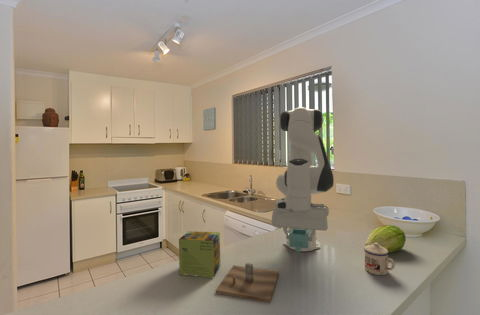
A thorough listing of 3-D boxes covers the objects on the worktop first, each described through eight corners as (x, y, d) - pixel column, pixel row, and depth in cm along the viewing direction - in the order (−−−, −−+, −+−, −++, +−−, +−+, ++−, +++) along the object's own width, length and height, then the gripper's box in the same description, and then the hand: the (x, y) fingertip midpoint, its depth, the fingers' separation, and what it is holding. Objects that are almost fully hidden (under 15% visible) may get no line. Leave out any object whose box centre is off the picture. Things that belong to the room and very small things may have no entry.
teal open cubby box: (291, 239, 98) (291, 228, 97) (308, 241, 96) (308, 229, 95) (288, 250, 88) (288, 238, 87) (307, 253, 86) (307, 239, 85)
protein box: (214, 278, 102) (213, 240, 101) (179, 275, 105) (178, 238, 104) (221, 266, 112) (220, 232, 112) (188, 263, 115) (187, 230, 114)
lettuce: (352, 236, 129) (370, 229, 118) (382, 226, 137) (401, 218, 126) (365, 262, 124) (385, 257, 113) (396, 250, 132) (417, 244, 121)
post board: (233, 267, 110) (233, 251, 110) (279, 274, 104) (278, 257, 104) (215, 293, 91) (215, 274, 91) (270, 302, 85) (269, 282, 85)
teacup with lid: (359, 268, 107) (359, 242, 107) (372, 263, 112) (372, 237, 112) (388, 281, 97) (388, 251, 97) (400, 275, 102) (400, 246, 101)
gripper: (328, 202, 92) (328, 239, 93) (273, 199, 99) (273, 234, 99) (329, 206, 86) (329, 245, 87) (270, 203, 93) (271, 240, 93)
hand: (299, 239), depth 93 cm, fingers closed on teal open cubby box, 7 cm apart
